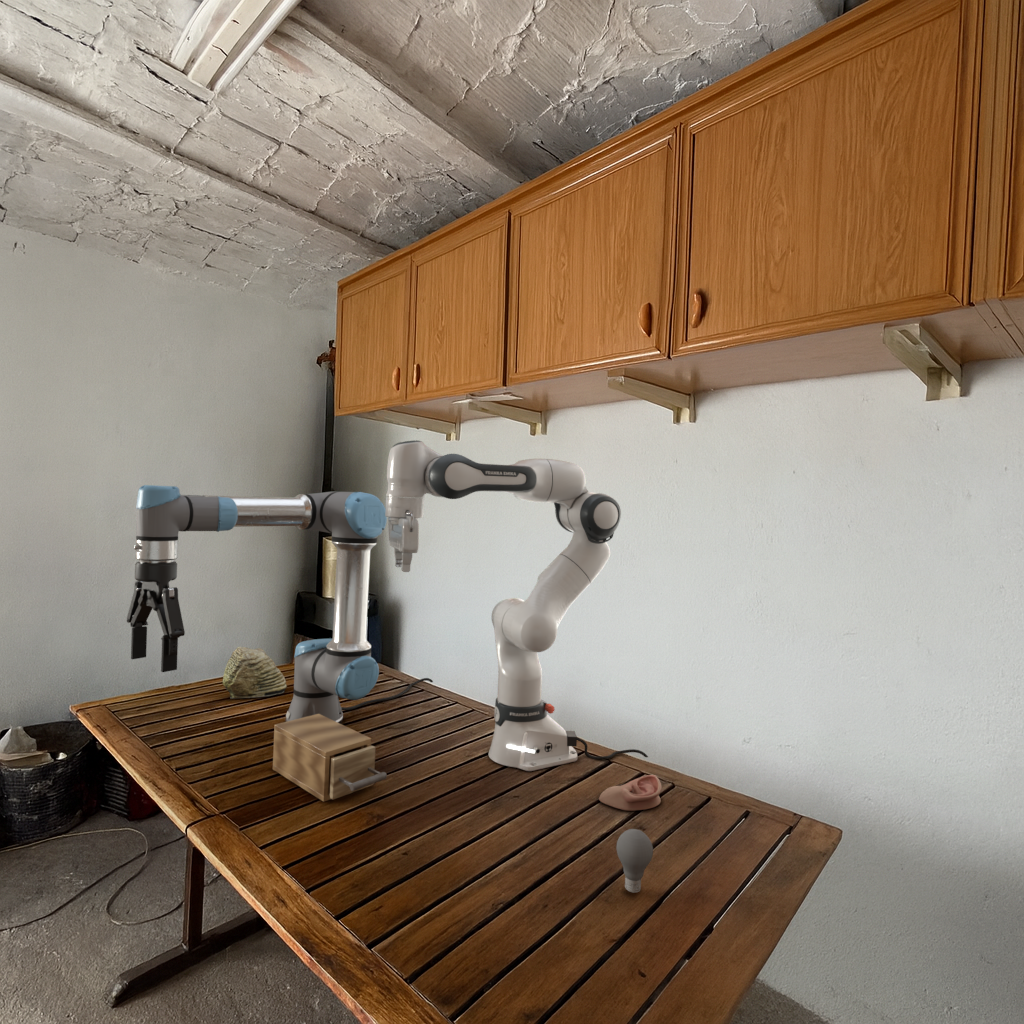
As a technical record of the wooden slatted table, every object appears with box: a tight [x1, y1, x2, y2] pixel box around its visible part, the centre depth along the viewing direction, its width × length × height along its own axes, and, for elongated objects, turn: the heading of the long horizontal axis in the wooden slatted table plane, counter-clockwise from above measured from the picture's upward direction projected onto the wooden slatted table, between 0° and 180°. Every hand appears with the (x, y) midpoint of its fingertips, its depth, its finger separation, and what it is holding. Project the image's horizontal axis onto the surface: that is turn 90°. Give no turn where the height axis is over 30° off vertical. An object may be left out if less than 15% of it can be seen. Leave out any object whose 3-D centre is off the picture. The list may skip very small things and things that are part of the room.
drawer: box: [328, 745, 388, 800], centre depth 139 cm, size 26×10×8 cm, turn 48°
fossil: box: [222, 646, 288, 699], centre depth 198 cm, size 9×18×15 cm, turn 132°
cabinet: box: [272, 714, 372, 803], centre depth 143 cm, size 21×12×10 cm, turn 49°
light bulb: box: [615, 828, 654, 894], centre depth 106 cm, size 6×6×10 cm
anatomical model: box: [598, 774, 663, 812], centre depth 139 cm, size 13×4×12 cm
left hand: (153, 664), depth 130 cm, fingers open, 13 cm apart
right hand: (402, 569), depth 148 cm, fingers open, 8 cm apart
